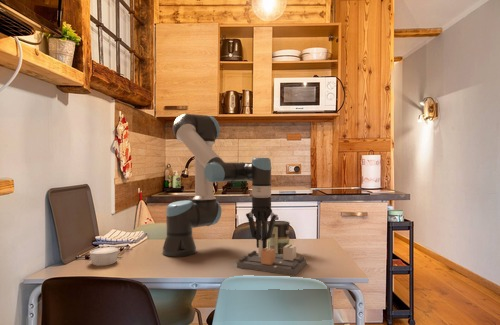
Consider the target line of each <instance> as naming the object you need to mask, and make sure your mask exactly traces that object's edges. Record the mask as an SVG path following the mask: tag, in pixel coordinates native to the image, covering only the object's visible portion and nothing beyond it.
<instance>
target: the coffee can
mask: <svg viewBox="0 0 500 325" xmlns="http://www.w3.org/2000/svg"><path fill="white" fill-rule="evenodd" d="M269 224H270V221H268V222H267V229H268V228H269ZM286 245H290V222H289V221H288V220H287V221H286V220H275V224H274V228H273V232H272V237H271V238H270V239H267V248H271V249H275V255H279V256H283V247H284V246H286Z"/></svg>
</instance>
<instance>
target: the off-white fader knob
mask: <svg viewBox="0 0 500 325" xmlns="http://www.w3.org/2000/svg"><path fill="white" fill-rule="evenodd" d="M295 258H297V245H296V244H295V245H294V244H289V245H286V246H284V247H283V260H291V261H293V260H294V259H295Z"/></svg>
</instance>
